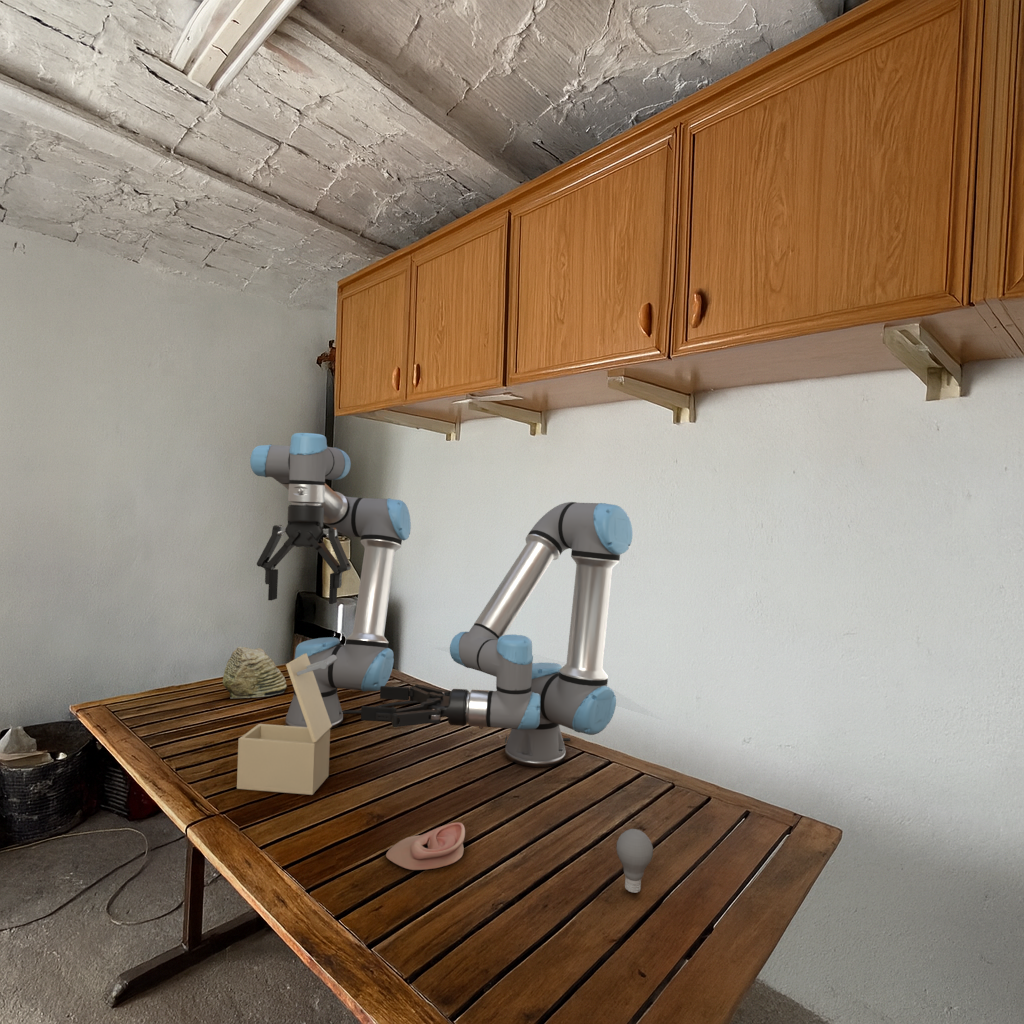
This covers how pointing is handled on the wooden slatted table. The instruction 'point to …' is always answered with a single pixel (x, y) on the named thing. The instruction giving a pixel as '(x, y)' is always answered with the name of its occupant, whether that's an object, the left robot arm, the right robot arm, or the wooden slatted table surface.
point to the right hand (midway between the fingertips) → (371, 702)
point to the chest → (282, 759)
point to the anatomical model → (430, 848)
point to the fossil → (252, 674)
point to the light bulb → (634, 857)
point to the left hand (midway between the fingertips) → (302, 601)
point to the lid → (310, 693)
